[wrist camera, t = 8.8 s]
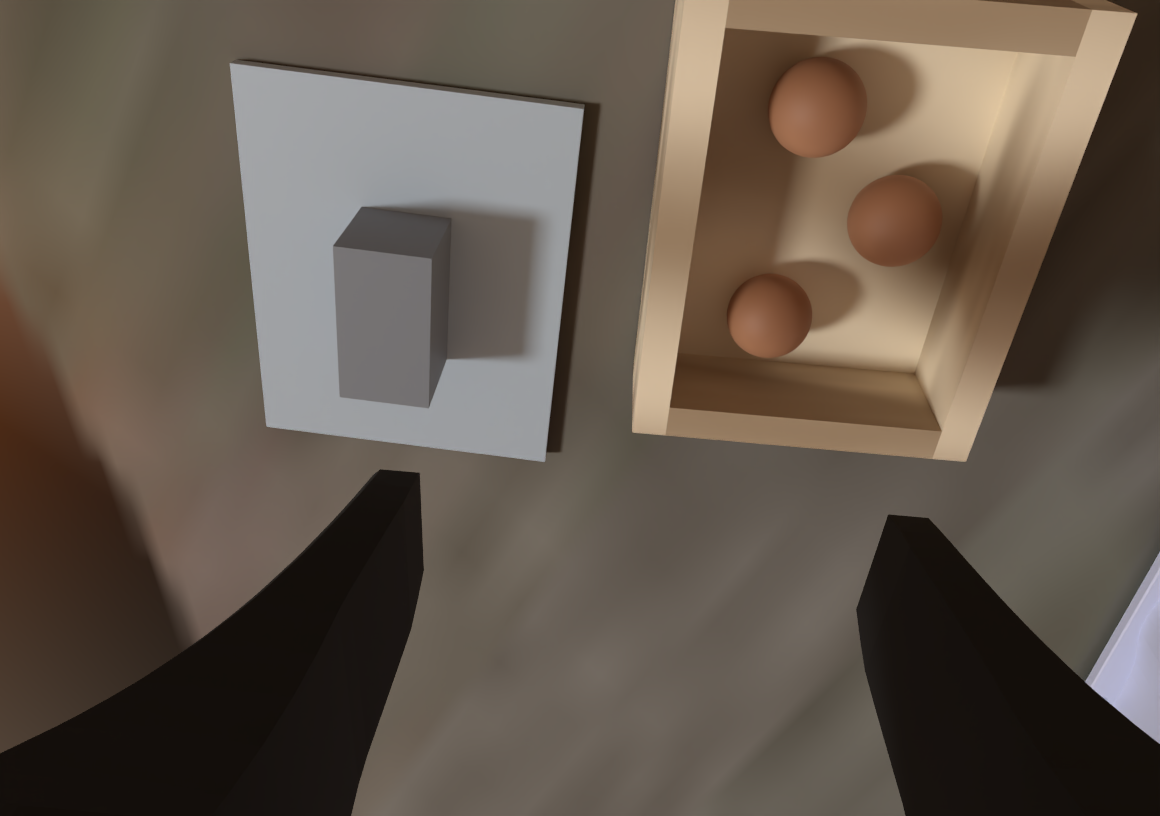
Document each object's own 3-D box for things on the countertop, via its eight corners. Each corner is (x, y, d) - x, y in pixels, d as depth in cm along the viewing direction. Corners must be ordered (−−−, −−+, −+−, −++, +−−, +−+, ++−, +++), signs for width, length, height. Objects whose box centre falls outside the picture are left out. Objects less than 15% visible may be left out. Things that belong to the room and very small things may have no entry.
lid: (547, 441, 27) (536, 515, 24) (278, 407, 27) (234, 478, 24) (585, 97, 21) (576, 141, 18) (246, 53, 21) (184, 90, 18)
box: (930, 389, 24) (965, 461, 22) (633, 363, 24) (632, 432, 22) (1067, -17, 19) (1137, 13, 16) (681, -48, 19) (687, -24, 16)
